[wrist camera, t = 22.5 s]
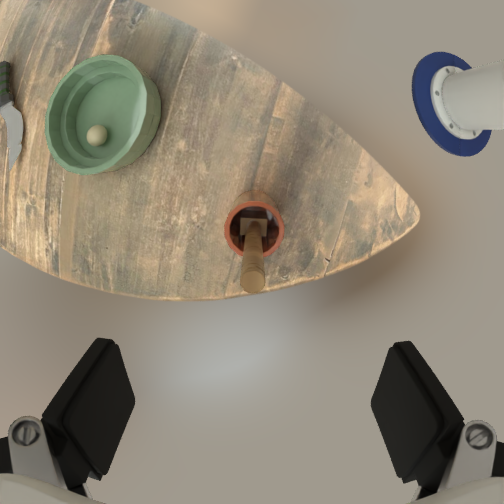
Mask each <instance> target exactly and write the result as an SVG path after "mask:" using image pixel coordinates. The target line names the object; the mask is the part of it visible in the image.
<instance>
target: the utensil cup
mask: <svg viewBox="0 0 504 504" xmlns="http://www.w3.org/2000/svg"><path fill="white" fill-rule="evenodd" d="M242 210H251V211H266V215H267V232H266V236H261V237H262V248H263V257H266V256H269V255H271V254H272V253H273V252H274V251H275V250H276V249H277V248H279V246H280V244H281V242H282V240H283V238H284V223H283V220H282V218H281V215H280V213H279V211H278V209H277V206H276V204H275V202H274V200H273V199H272V198H271V197H270V196H269V195H268V194H266V193H264V192H262V191H258V190H250V191H247V192H244V193H242V194H241V195H240V196H239V197H238V198H237V199H236V200H235V202H234V204H233V206H232V208H231V210H230V212H229V215H228V217H227V220H226V222H225V225H224V229H225V238H226V240H227V243H228V245H229V247H230V248H231V249H232V250H233V251H234V252H236V253H237V254H238V255H240V256H243V251H244V243H245V235H240V219H241V214H242Z"/></svg>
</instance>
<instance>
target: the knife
mask: <svg viewBox="0 0 504 504" xmlns="http://www.w3.org/2000/svg"><path fill="white" fill-rule="evenodd" d="M9 68H10V63H9V62H6V61H3V62H1V63H0V114H1V115H2V117H3V119H4V120H5V122H6V126H7V136H8V139H7V147H10V148H9V170H11V169H12V167H13V165H14V163H15V161H16V159H17V157H18V155H19V153H20V151H21V147H22V143H21V144H20V142H21V140H22V135H23V120H22V116H21V113H20V112H19V111H18V110H17V109H15V108H14V107H13V105H14V99H13V94H10V93H9V70H10V69H9Z"/></svg>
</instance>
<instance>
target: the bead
mask: <svg viewBox="0 0 504 504" xmlns="http://www.w3.org/2000/svg"><path fill="white" fill-rule="evenodd" d="M107 135H108V134H107V130H106V128H105V127H104V126H102V125H94V126H92V127H91V128H90V129H89V130H88V132H87V141H88V143H89V144H90V145H92V146H100V145H102V144H103V143H104V142H105V141H106V139H107Z"/></svg>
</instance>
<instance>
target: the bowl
mask: <svg viewBox="0 0 504 504" xmlns="http://www.w3.org/2000/svg"><path fill="white" fill-rule="evenodd" d="M160 118H161V99H160V95H159V92H158V89H157V86H156V84H155V83H154V81H153V80H152V79H151V78H150V76H149V75H148V74H147V73H146V72H145V71H143V70H142V69H140V68H139V67H138V66H136V65H135V64H133V63H132V62H130V61H128V60H126V59H124V58H123V57H121V56H118V55H105V54H103V55H99V56H95V57H92V58H88V59H86V60H84V61H83V62H81V63H80V64H78V65H76V66H75V67H73V68H72V69H71V70H70V71H69V72H68V73H67V74H66V75H65V76H64V78H63V79H62V80H61V81H60V82H59V83H58V85H57V87H56V89H55V91H54V92H53V94H52V96H51V98H50V101H49V105H48V108H47V112H46V116H45V136H46V140H47V145H48V149H49V151H50V152H51V154H52V156H53V157H54V159H55V161H56V162H57V163H58V164H59V165H61V166H62V167H63V168H64V169H66V170H67V171H69V172H73V173H76V174H80V175H88V174H96V173H103V172H110V171H116V170H119V169H121V168H123V167H125V166H127V165H129V164H131V163H133V162H134V161H135V160H136V159H137V158H138V157H139V156H140V155H141V154H143V153H144V151H145V150H146V149H147V147H148V146H149V144H150V143H151V141H152V140H153V138H154V136H155V134H156V131H157V128H158V124H159V121H160ZM94 125H102V126H104V127H105V128H106V130H107V134H108V135H107V139H106V141H105V142H104V143H103V144H102V145H100V146H92V145H90V144H89V143H88V141H87V132H88V130H89V129H90V128H91V127H92V126H94Z"/></svg>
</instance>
